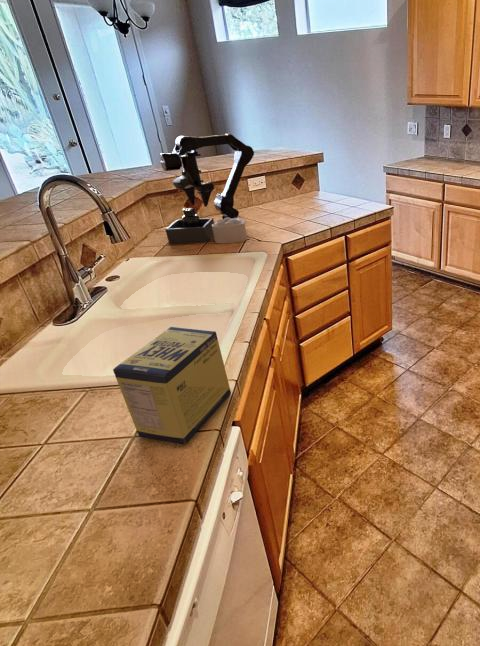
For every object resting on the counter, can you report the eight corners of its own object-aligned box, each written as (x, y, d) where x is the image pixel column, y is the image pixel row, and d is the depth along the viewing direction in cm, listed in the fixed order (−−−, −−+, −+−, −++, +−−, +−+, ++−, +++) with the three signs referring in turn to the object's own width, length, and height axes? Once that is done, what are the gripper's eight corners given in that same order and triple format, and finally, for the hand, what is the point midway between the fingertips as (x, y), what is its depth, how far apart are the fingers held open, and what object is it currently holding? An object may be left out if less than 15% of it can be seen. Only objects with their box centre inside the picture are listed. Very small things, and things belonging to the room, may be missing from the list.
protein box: (232, 392, 92) (217, 330, 85) (186, 445, 78) (163, 376, 71) (189, 386, 94) (170, 325, 87) (137, 437, 80) (109, 369, 73)
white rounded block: (248, 240, 183) (244, 220, 179) (216, 245, 179) (211, 224, 175) (245, 233, 192) (241, 214, 188) (214, 238, 187) (209, 218, 183)
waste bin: (216, 232, 195) (213, 217, 192) (207, 242, 182) (204, 227, 179) (180, 233, 193) (176, 219, 190) (169, 244, 181) (165, 229, 178)
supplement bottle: (198, 238, 185) (192, 211, 179) (183, 238, 185) (176, 211, 180) (206, 233, 191) (199, 207, 185) (191, 233, 191) (184, 207, 186)
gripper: (159, 169, 178) (169, 206, 185) (186, 173, 169) (196, 212, 176) (184, 165, 186) (192, 201, 193) (211, 168, 177) (219, 206, 184)
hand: (199, 205), depth 187 cm, fingers open, 9 cm apart
